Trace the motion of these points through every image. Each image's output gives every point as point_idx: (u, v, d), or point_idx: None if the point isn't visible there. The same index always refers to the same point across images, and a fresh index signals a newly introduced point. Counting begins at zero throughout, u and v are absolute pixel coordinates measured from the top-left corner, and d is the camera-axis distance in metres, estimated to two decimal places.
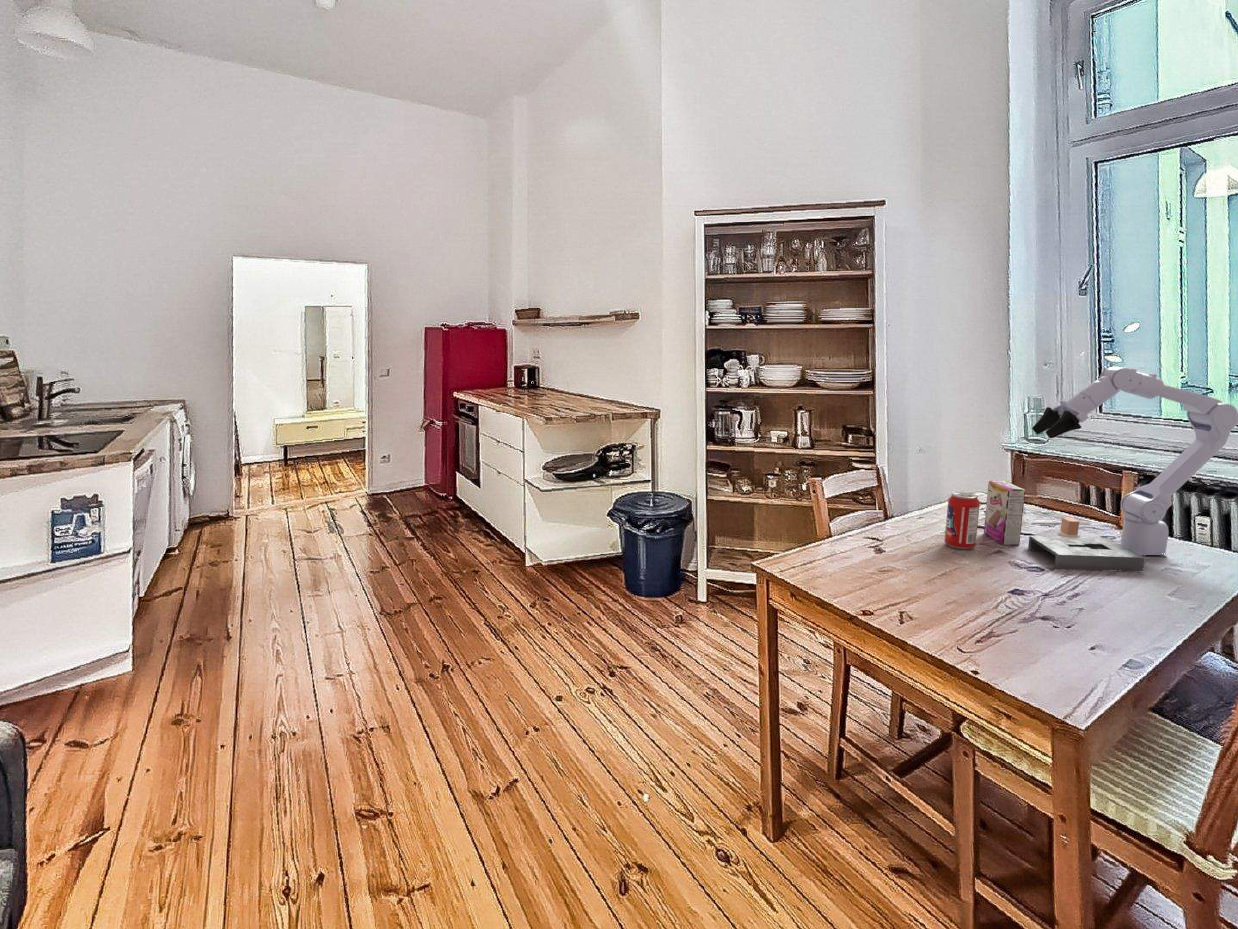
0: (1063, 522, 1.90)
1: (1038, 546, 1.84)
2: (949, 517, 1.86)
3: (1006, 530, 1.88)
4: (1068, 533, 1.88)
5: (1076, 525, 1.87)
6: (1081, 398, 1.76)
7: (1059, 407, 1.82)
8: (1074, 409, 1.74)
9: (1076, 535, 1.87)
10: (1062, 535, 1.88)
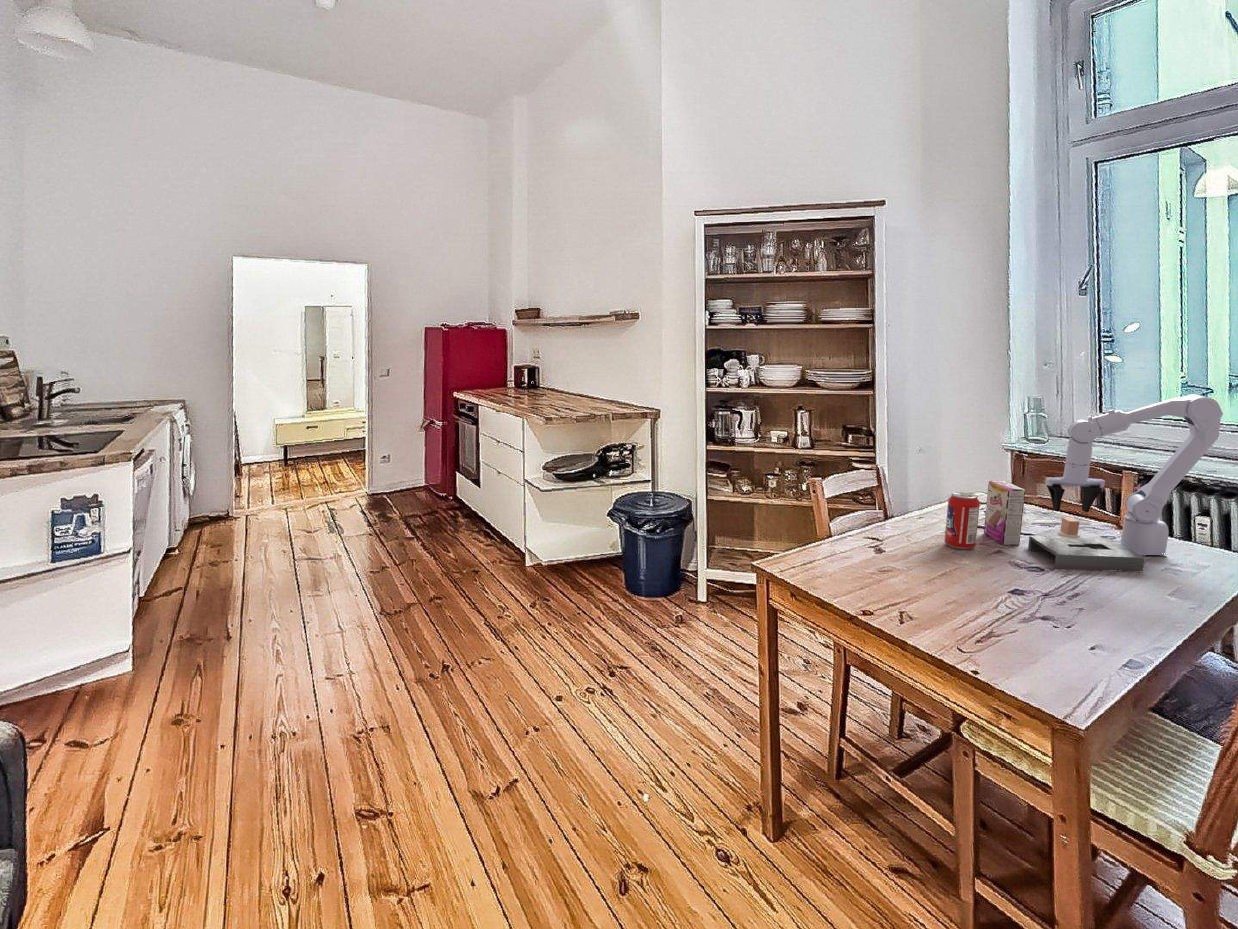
0: (1063, 522, 1.90)
1: (1038, 546, 1.84)
2: (949, 517, 1.86)
3: (1006, 530, 1.88)
4: (1068, 533, 1.88)
5: (1076, 525, 1.87)
6: None
7: None
8: None
9: (1076, 535, 1.87)
10: (1062, 535, 1.88)
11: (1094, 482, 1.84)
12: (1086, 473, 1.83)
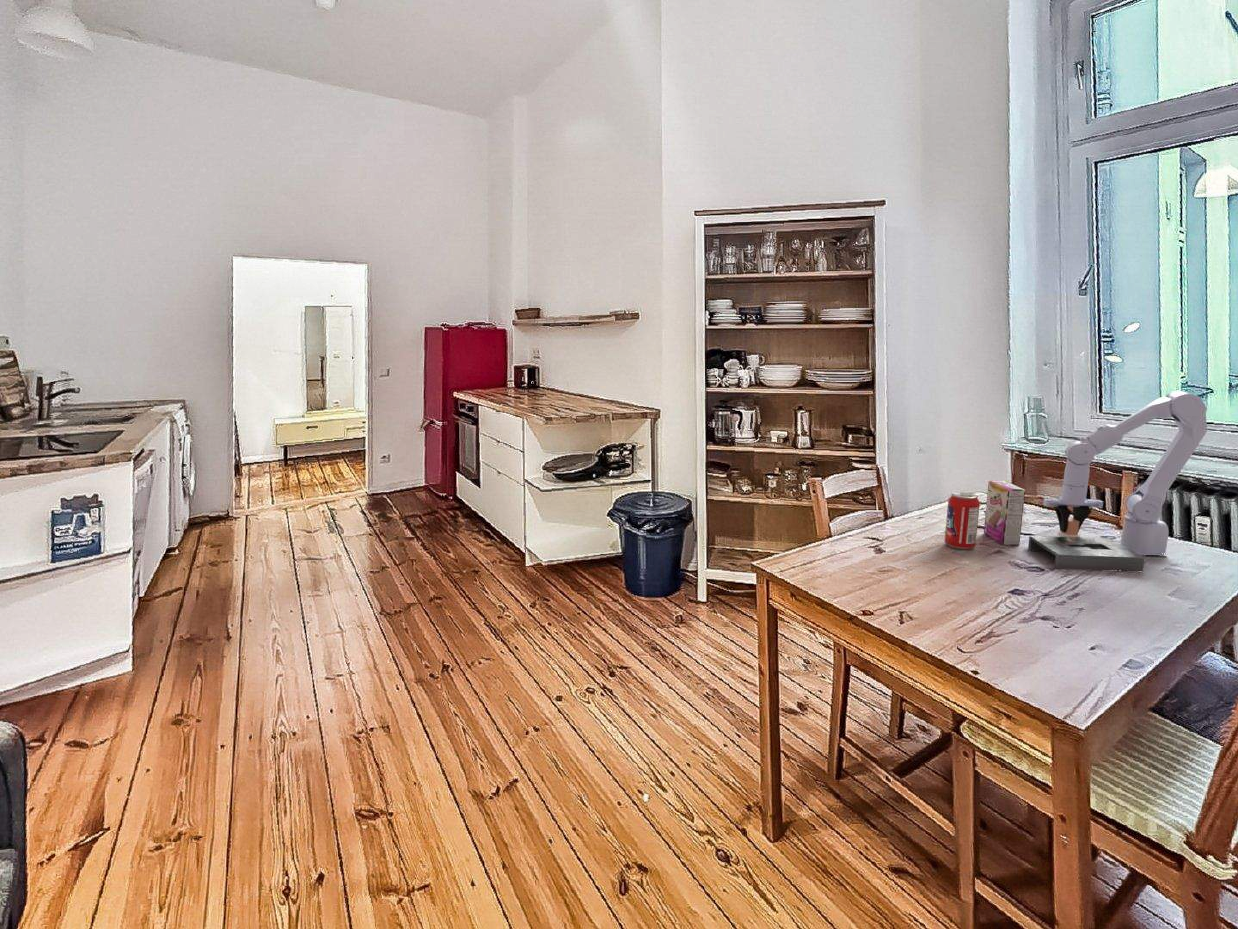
0: None
1: (1038, 546, 1.84)
2: (949, 517, 1.86)
3: (1006, 530, 1.88)
4: (1068, 533, 1.88)
5: (1076, 525, 1.87)
6: None
7: None
8: None
9: (1076, 535, 1.87)
10: (1062, 535, 1.88)
11: (1092, 503, 1.85)
12: (1084, 494, 1.84)
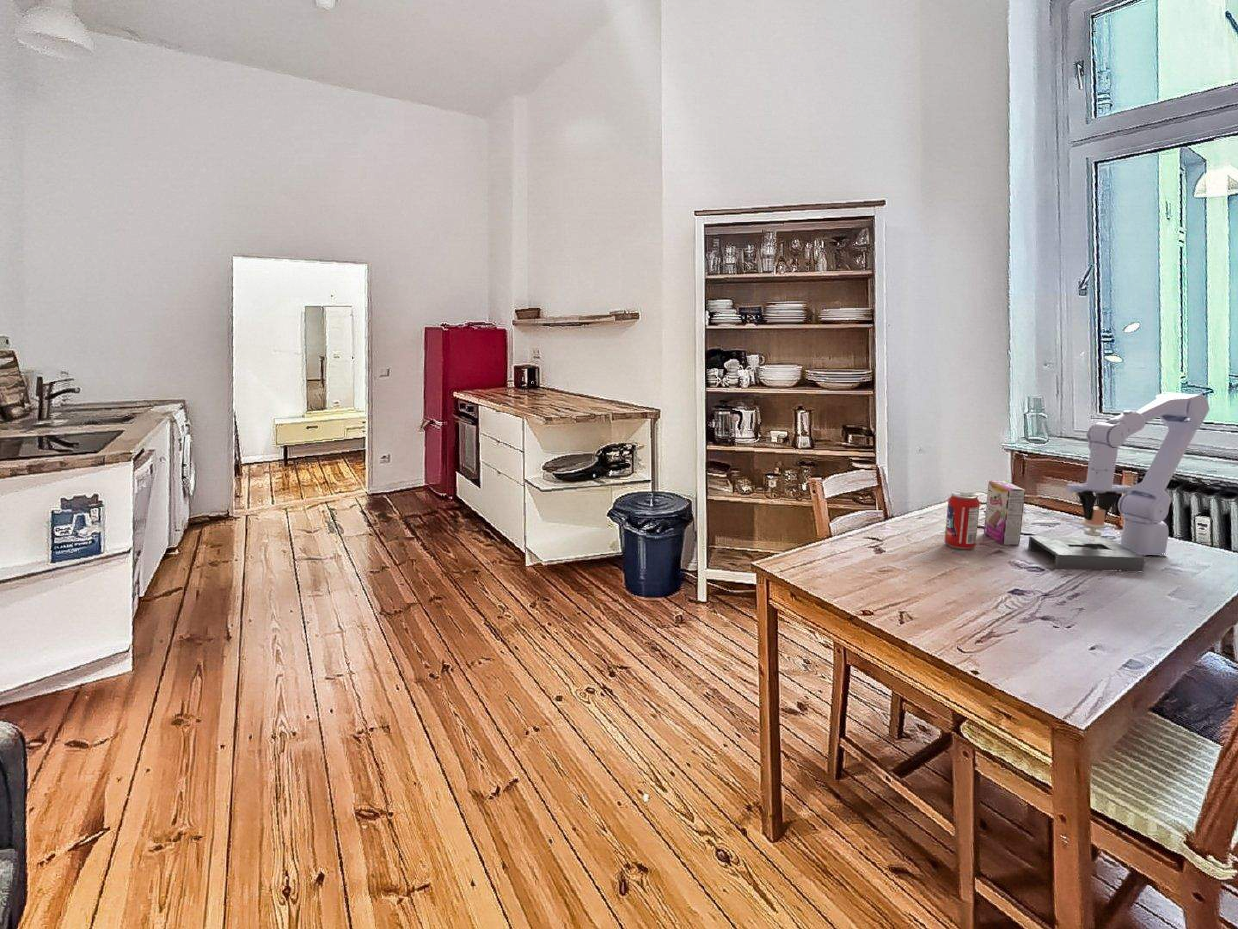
0: None
1: (1038, 546, 1.84)
2: (949, 517, 1.86)
3: (1006, 530, 1.88)
4: (1093, 523, 1.75)
5: (1102, 514, 1.74)
6: None
7: None
8: None
9: (1102, 525, 1.75)
10: (1087, 525, 1.76)
11: (1119, 489, 1.73)
12: (1111, 479, 1.72)
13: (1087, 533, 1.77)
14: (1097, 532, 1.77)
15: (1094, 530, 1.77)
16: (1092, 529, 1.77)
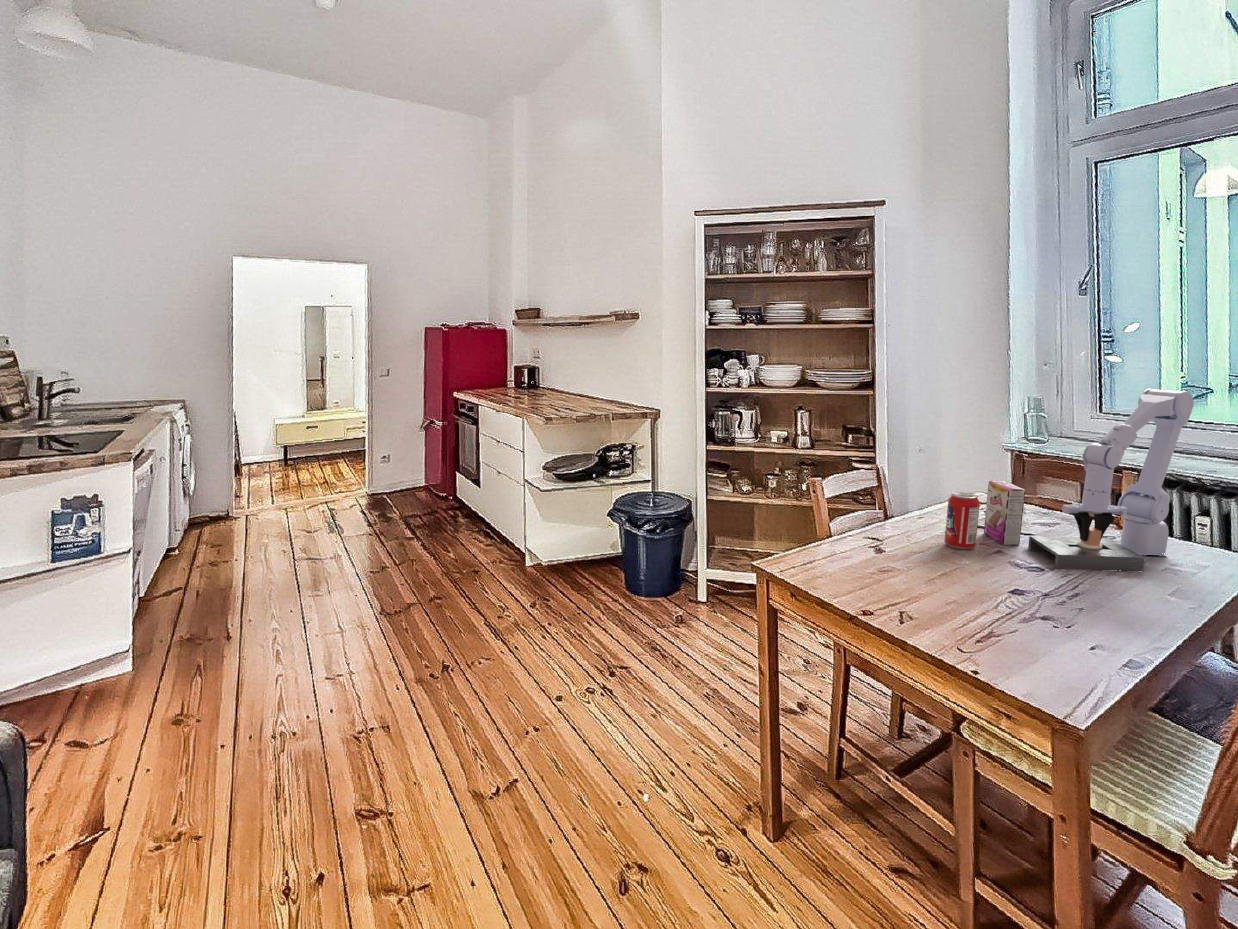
0: None
1: (1038, 546, 1.84)
2: (949, 517, 1.86)
3: (1006, 530, 1.88)
4: (1089, 544, 1.74)
5: (1098, 534, 1.73)
6: None
7: None
8: None
9: (1098, 546, 1.73)
10: (1083, 546, 1.75)
11: (1115, 510, 1.72)
12: (1107, 500, 1.71)
13: None
14: None
15: None
16: None
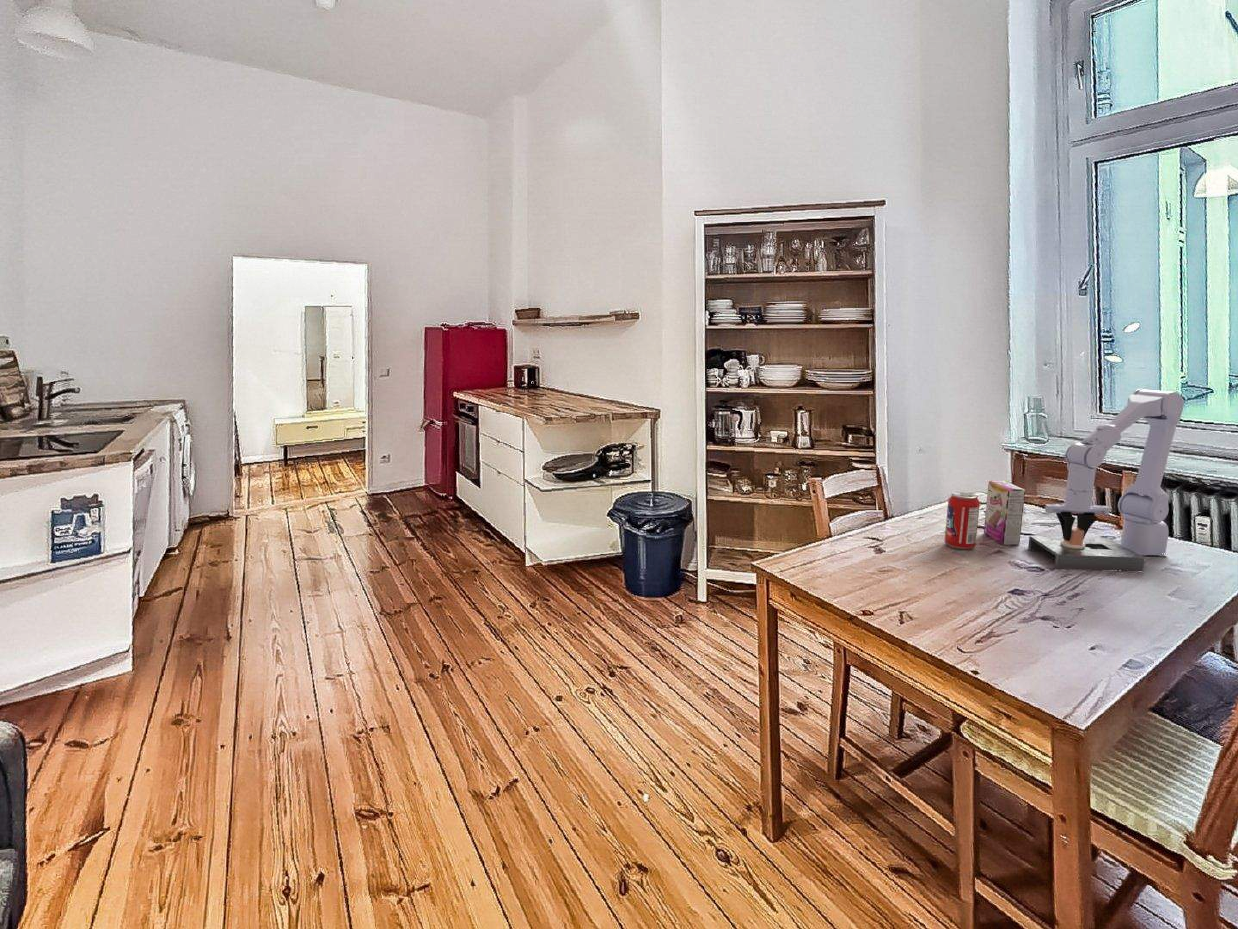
0: None
1: (1038, 546, 1.84)
2: (949, 517, 1.86)
3: (1006, 530, 1.88)
4: (1072, 543, 1.74)
5: (1081, 534, 1.74)
6: None
7: None
8: None
9: (1081, 545, 1.74)
10: (1066, 545, 1.75)
11: (1098, 509, 1.72)
12: (1089, 500, 1.71)
13: None
14: None
15: None
16: None
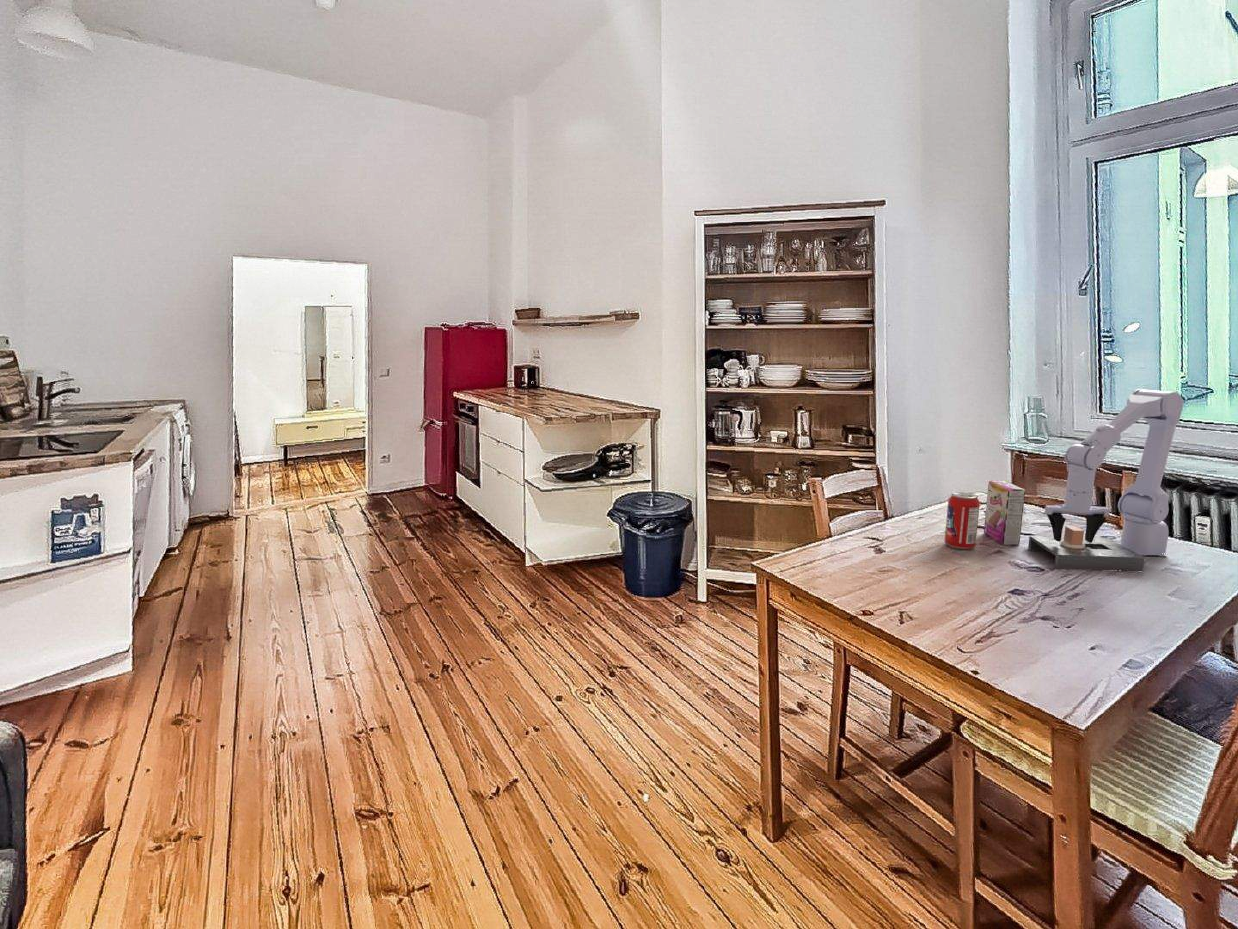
0: (1067, 531, 1.77)
1: (1038, 546, 1.84)
2: (949, 517, 1.86)
3: (1006, 530, 1.88)
4: (1072, 543, 1.74)
5: (1081, 534, 1.74)
6: None
7: None
8: None
9: (1081, 545, 1.74)
10: (1065, 545, 1.75)
11: (1097, 511, 1.72)
12: (1088, 501, 1.71)
13: None
14: None
15: None
16: None
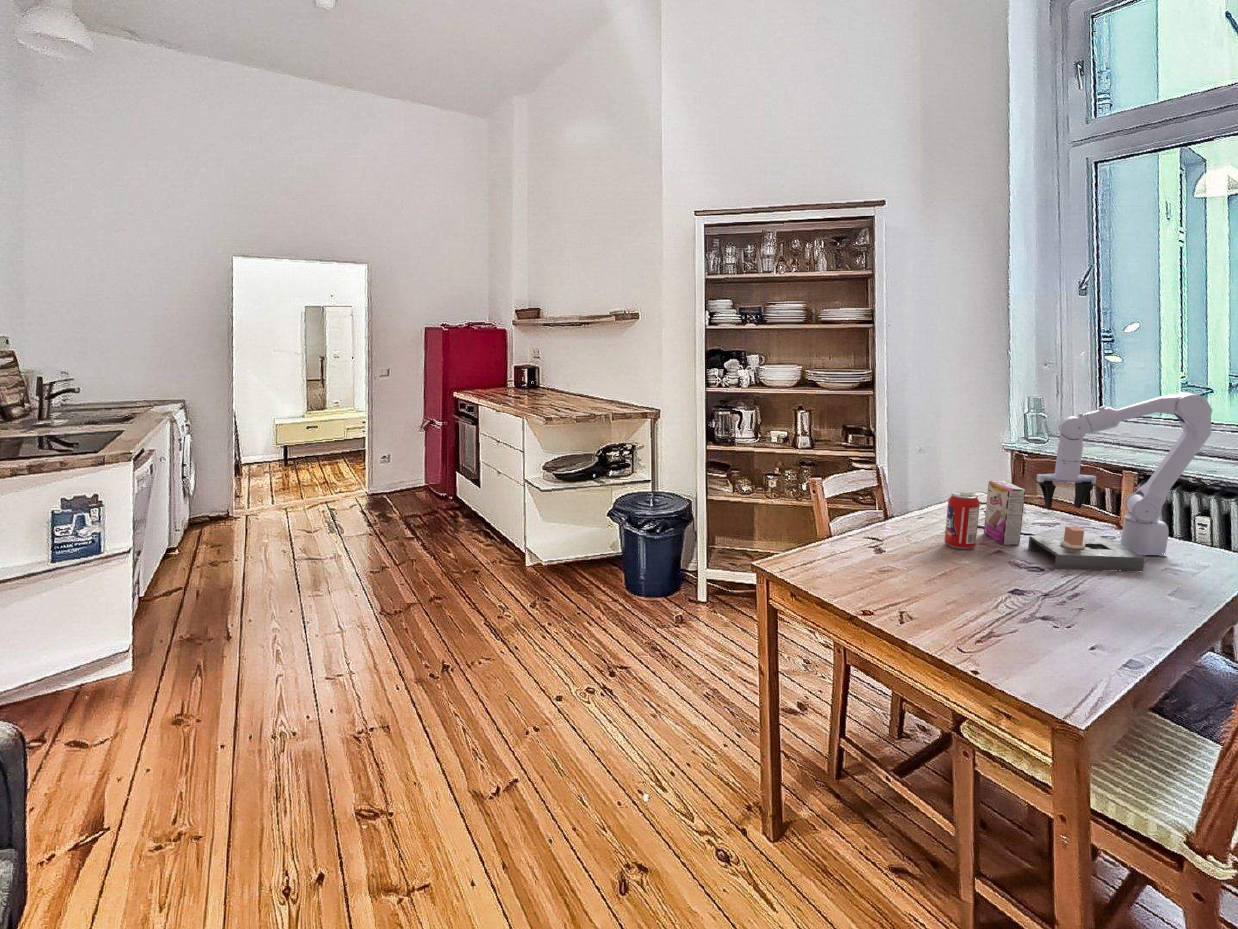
0: (1067, 531, 1.77)
1: (1038, 546, 1.84)
2: (949, 517, 1.86)
3: (1006, 530, 1.88)
4: (1072, 543, 1.74)
5: (1081, 534, 1.74)
6: None
7: None
8: None
9: (1081, 545, 1.74)
10: (1065, 545, 1.75)
11: (1085, 478, 1.85)
12: (1077, 469, 1.84)
13: None
14: None
15: None
16: None
